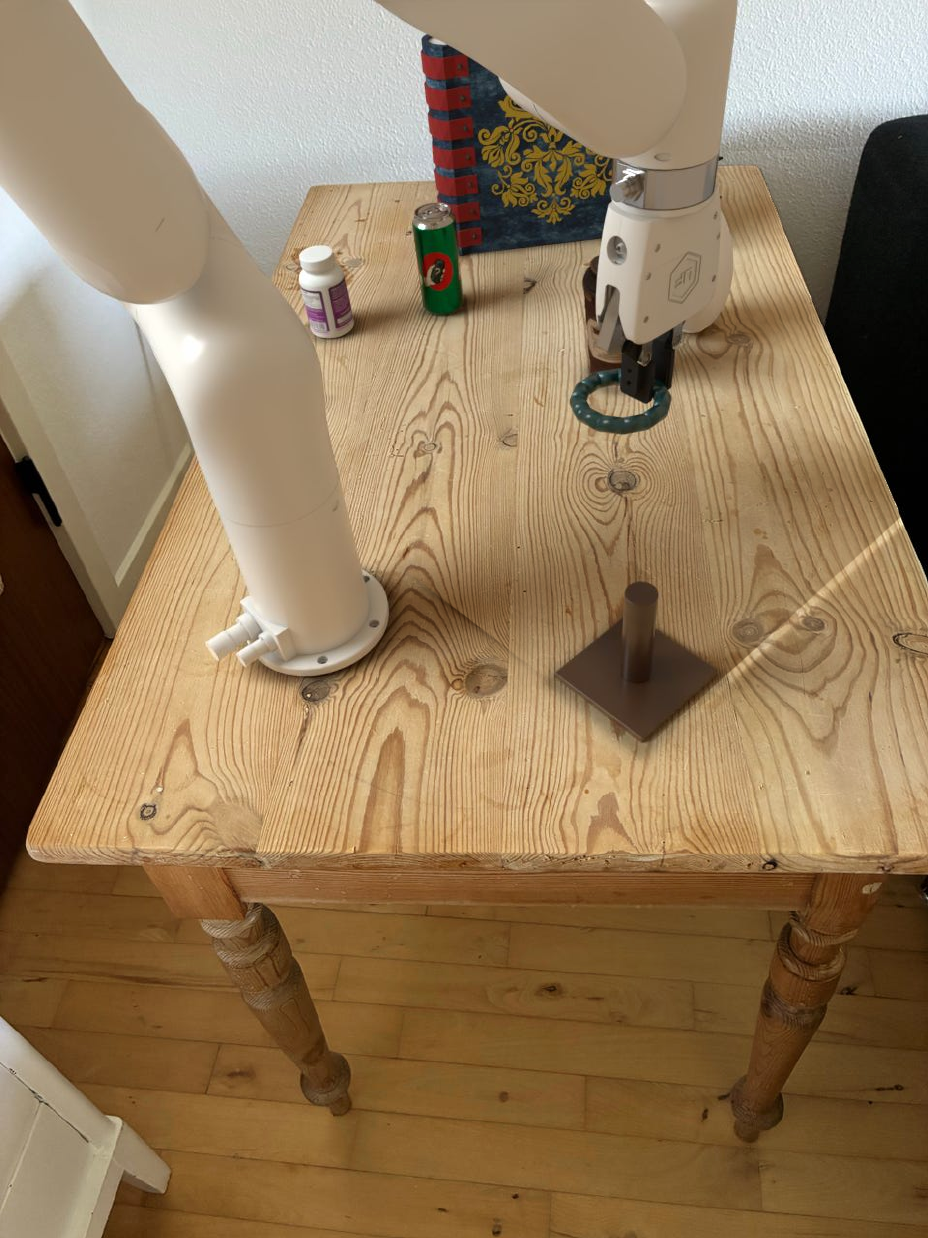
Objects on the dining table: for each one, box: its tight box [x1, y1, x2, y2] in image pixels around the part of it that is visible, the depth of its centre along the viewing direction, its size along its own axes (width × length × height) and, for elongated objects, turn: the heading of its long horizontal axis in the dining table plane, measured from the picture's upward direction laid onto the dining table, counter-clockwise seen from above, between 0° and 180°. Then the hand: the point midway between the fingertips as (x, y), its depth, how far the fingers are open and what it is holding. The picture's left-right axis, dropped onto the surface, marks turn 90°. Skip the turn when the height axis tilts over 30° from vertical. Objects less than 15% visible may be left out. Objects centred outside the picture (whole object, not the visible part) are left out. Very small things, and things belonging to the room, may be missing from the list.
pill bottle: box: [298, 244, 355, 339], centre depth 111 cm, size 5×5×10 cm
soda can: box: [411, 201, 465, 317], centre depth 111 cm, size 5×5×12 cm
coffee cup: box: [581, 254, 622, 387], centre depth 98 cm, size 9×8×13 cm
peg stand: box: [554, 581, 719, 743], centre depth 71 cm, size 9×9×10 cm
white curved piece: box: [682, 210, 734, 334], centre depth 101 cm, size 8×8×18 cm
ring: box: [569, 368, 673, 436], centre depth 80 cm, size 8×8×1 cm
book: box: [420, 33, 613, 257], centre depth 116 cm, size 25×7×25 cm, turn 94°
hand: (645, 389), depth 82 cm, fingers closed on ring, 1 cm apart
